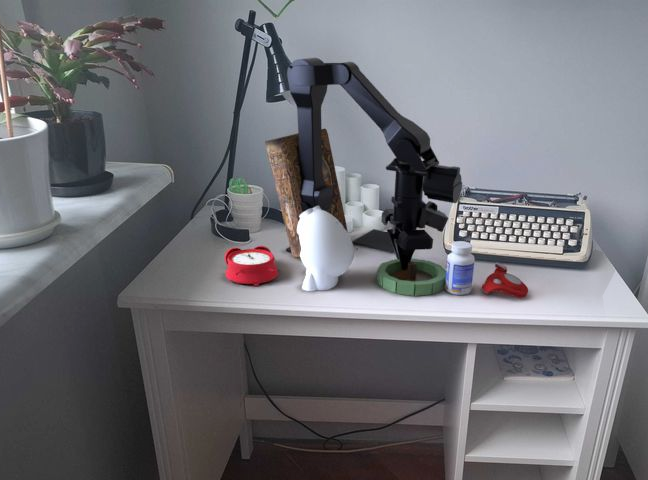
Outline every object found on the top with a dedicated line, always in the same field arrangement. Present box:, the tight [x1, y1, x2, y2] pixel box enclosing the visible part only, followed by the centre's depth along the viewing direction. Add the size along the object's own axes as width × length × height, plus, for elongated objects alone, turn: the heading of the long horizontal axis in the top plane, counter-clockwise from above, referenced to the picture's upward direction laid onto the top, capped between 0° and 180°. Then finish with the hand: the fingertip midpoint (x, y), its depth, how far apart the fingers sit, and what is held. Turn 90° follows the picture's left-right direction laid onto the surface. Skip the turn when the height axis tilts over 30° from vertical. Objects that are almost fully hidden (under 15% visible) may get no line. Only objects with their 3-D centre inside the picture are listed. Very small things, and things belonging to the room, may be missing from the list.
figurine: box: [297, 206, 355, 292], centre depth 125 cm, size 11×11×15 cm
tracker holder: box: [480, 261, 529, 299], centre depth 128 cm, size 12×4×10 cm
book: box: [264, 128, 349, 260], centre depth 140 cm, size 16×6×25 cm, turn 152°
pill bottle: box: [444, 240, 476, 296], centre depth 125 cm, size 5×5×10 cm
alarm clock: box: [224, 245, 279, 287], centre depth 129 cm, size 10×6×15 cm
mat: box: [352, 228, 395, 254], centre depth 150 cm, size 11×11×1 cm
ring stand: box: [389, 262, 434, 282], centre depth 129 cm, size 9×9×4 cm
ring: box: [376, 257, 446, 297], centre depth 130 cm, size 14×14×2 cm
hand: (403, 267), depth 135 cm, fingers closed on ring, 2 cm apart
